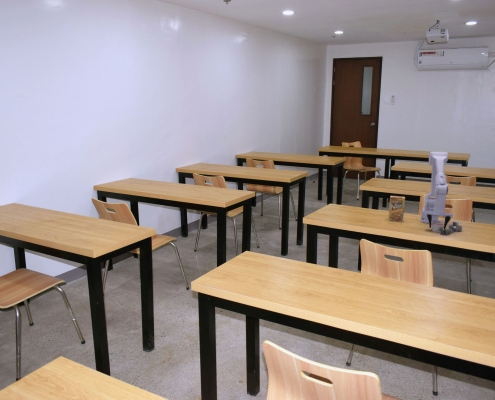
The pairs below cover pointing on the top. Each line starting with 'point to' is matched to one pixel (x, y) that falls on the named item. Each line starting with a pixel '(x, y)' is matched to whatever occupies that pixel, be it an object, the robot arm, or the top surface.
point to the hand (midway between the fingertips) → (437, 228)
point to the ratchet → (452, 229)
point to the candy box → (396, 208)
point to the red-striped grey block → (437, 226)
